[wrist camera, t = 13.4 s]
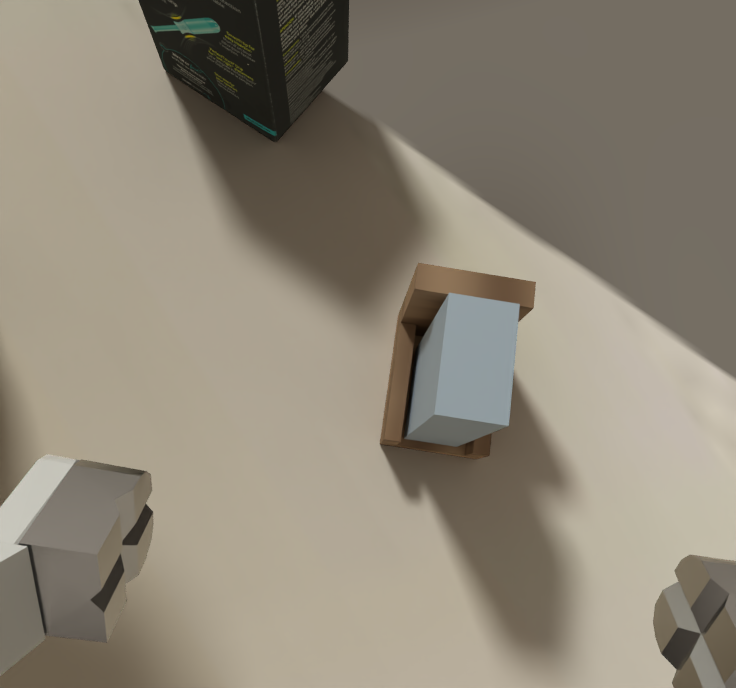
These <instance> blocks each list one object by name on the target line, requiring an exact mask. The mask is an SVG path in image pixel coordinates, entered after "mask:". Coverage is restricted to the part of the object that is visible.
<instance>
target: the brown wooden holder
mask: <svg viewBox="0 0 736 688" xmlns="http://www.w3.org/2000/svg"><path fill="white" fill-rule="evenodd" d="M535 285H536V282H532V281H526V280H520V279H514V278H508V277H502V276H495V275H489V274H483V273H477V272H471V271H465V270H459V269H453V268H447V267H440V266H434V265H428V264H422V263H418V265H417V267H416V270H415V273H414V275H413V278H412V281H411V283H410V286H409V288H408V291H407V294H406V296H405V299H404V302H403V304H402V307H401V309H400V312H399V315H398V320H397V327H396V334H395V341H394V348H393V355H392V362H391V369H390V376H389V383H388V390H387V397H386V404H385V411H384V418H383V425H382V432H381V439H380V444H383V445H389V446H395V447H402V448H408V449H415V450H421V451H427V452H434V453H440V454H447V455H453V456H459V457H466V458H472V459H478V458H482V457H486V456H489V454H490V444H491V434H492V433H490V434H488V435H485V436H483V437H480V438H478V439H475V440H473V441H470V442H468V443H465V444H463V445H460V446H458V447H454V446H447V445H441V444H435V443H428V442H422V441H415V440H409V439H404V433H405V425H406V418H407V410H408V403H409V395H410V388H411V380H412V372H413V365H414V357H415V350H416V348H417V347H418V345H419V343H420V342H421V340H422V338H423V336H424V335H425V333H426V331H427V330H428V328H429V326H430V324H431V323H432V321H433V319H434V318H435V316H436V314H437V313H438V311H439V309H440V307H441V306H442V304H443V302H444V301H445V299H446V297H447V295H448V294H449V293H455V294H461V295H467V296H473V297H479V298H485V299H492V300H498V301H504V302H510V303H516V304H520V308H519V319H518V322H519V321H520V320H521V319H522V318H523V317H524V316H525V315H527V314H528V313H529V312H530V311H531V310H532V309H533V308H534V296H535Z"/></svg>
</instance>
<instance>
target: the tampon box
mask: <svg viewBox="0 0 736 688" xmlns="http://www.w3.org/2000/svg"><path fill="white" fill-rule="evenodd" d="M139 3H140V6H141V8H142V11H143V14H144V16H145V19H146V22H147V24H148V27H149V29H150V32H151V35H152V38H153V40H154V43H155V46H156V48H157V51H158V54H159V56H160V59H161V62H162V65H163V67H164V69H165V70H166V71H167V72H168V73H170V74H171V75H173V76H174V77H176V78H177V79H179V80H181V81H182V82H184V83H185V84H186V85H188V86H190V87H191V88H193V89H194V90H196V91H197V92H199V93H200V94H202V95H203V96H205V97H206V98H208V99H209V100H211V101H212V102H214V103H215V104H217V105H218V106H220V107H221V108H223V109H225V110H226V111H228V112H229V113H231V114H232V115H234V116H235V117H237V118H238V119H240V120H241V121H243V122H245V123H246V124H248V125H249V126H251V127H252V128H254V129H255V130H257V131H258V132H260V133H261V134H263V135H264V136H266V137H268V138H269V139H271V140H272V141H274V142H276V141H277V140H278V139H279V138H280V137H281V136H282V135H283V134H284V133H285V131H286V130H287V129H288V128H289V127H290V126H291V125H292V124H293V122H294V121H295V120H296V119H297V118H298V117H299V116H300V115H301V114H302V112H303V111H304V110H305V109H306V108H307V107H308V106H309V104H310V103H311V102H312V101H313V100H314V99H315V98H316V96H317V95H318V94H319V93H320V92H321V91H322V90H323V89H324V88H325V86H326V85H327V84H328V83H329V82H330V81H331V79H332V78H333V77H334V76H335V75H336V74H337V73H338V72H339V71H340V69H341V68H342V67H343V66H344V65H345V64H346V62H347V61H348V28H349V25H348V24H349V0H139Z"/></svg>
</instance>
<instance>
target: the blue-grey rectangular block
mask: <svg viewBox="0 0 736 688" xmlns="http://www.w3.org/2000/svg"><path fill="white" fill-rule="evenodd" d="M519 308H520V304H516V303H510V302H504V301H498V300H492V299H485V298H479V297H473V296H467V295H461V294H455V293H449V294H448V295H447V297H446V299H445V301H444V302H443V304H442V306H441V307H440V309H439V311H438V313H437V314H436V316H435V318H434V319H433V321H432V323H431V324H430V326H429V328H428V330H427V331H426V333H425V335H424V336H423V338H422V340H421V342H420V343H419V345H418V347H417V348H416V350H415V357H414V365H413V372H412V380H411V388H410V395H409V403H408V410H407V418H406V425H405V433H404V439H409V440H415V441H422V442H428V443H435V444H441V445H447V446H454V447H458V446H460V445H463V444H465V443H468V442H470V441H473V440H475V439H478V438H480V437H483V436H485V435H488V434H490V433H493V432H495V431H498V430H500V429H503V428H505V427H508V426H509V418H510V407H511V396H512V385H513V374H514V363H515V352H516V341H517V330H518V319H519Z"/></svg>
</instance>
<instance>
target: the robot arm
mask: <svg viewBox="0 0 736 688" xmlns="http://www.w3.org/2000/svg"><path fill="white" fill-rule="evenodd" d="M151 492H152V482H151V474H150V473H148V472H147V471H142V470H137V469H131V468H126V467H120V466H114V465H109V464H103V463H98V462H92V461H87V460H77V459H72V458H66V457H61V456H55V455H50V454H47V455H45V456H44V457H42V458H40V459H38V460H37V461H36V462H35V464H34V465H33V466H32V467H31V469H30V470H29V471H28V472H27V474H26V475H25V476H24V477H23V479H22V480H21V481H20V483H19V484H18V485H17V486H16V488H15V489H14V490H13V491H12V493H11V494H10V495H9V496H8V498H7V499H6V500H5V501H4V503H3V504H2V505H1V507H0V676H1V675H2V674H3V673H5V672H6V671H7V670H8V669H10V668H11V667H12V666H13V665H14V664H16V663H17V662H18V661H19V660H21V659H22V658H23V657H24V656H26V655H27V654H28V653H29V652H30V651H32V650H33V649H34V648H35V647H37V646H38V645H39V644H40V643H41V642H43V641H44V640H45V635H46V636H55V637H63V638H71V639H80V640H88V641H97V642H105V643H107V642H108V640H109V638H110V636H111V633H112V631H113V629H114V627H115V625H116V623H117V621H118V619H119V616H120V614H121V612H122V610H123V608H124V606H125V604H126V601H127V599H126V583H128V582H129V581H131V580H132V579H133V578H135V577H136V576H138V575H139V573H140V571H141V569H142V566H143V564H144V562H145V560H146V557H147V553H148V550H149V546H150V543H151V539H152V532H153V511H152V510H151V509H150V508H149V507H148V506H147V504H146V502H147V500H148V498H149V496H150V494H151ZM675 574H676V576H677V579H678V582H677V583H675V584H673V585H671V586H669V587H668V588H666V589H664V590H663V591H662V593H661V594H660V596H659V598H658V600H657V602H656V604H655V610H654V619H653V625H654V631H655V638H656V640H657V643H658V646H659V649H660V652H661V654H662V655H663V656H664V657H665V658H666V659H667V660H668V661H669V662H670V663H671V664H672V665H673V666H674V667H675V668H676V669H677V670H676V673H675V676H674V678H673V681H672V684H673V687H674V688H736V561H731V560H724V559H717V558H710V557H703V556H696V555H689V556H687V557H685V558H683V559H682V560H681V561H680V563H679V564H678V566H677V568H676V569H675Z"/></svg>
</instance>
